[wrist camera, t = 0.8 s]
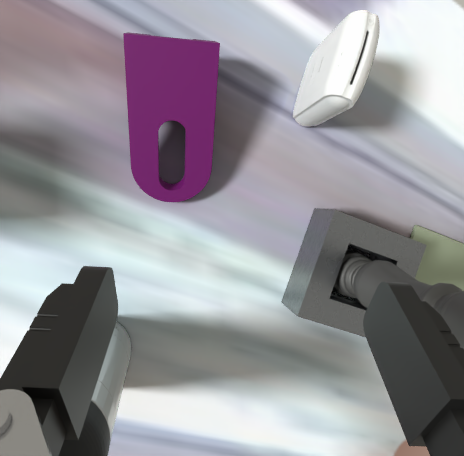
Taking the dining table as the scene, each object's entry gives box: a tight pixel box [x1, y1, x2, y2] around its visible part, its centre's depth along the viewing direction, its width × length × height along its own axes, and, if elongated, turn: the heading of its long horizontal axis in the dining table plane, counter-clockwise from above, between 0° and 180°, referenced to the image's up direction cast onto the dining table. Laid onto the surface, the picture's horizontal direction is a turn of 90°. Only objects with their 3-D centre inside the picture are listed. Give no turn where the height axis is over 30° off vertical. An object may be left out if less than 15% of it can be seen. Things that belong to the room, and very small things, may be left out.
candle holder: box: [333, 250, 464, 349], centre depth 37 cm, size 6×6×25 cm
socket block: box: [282, 209, 427, 337], centre depth 47 cm, size 14×14×6 cm
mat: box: [410, 225, 464, 291], centre depth 52 cm, size 12×12×1 cm
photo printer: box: [293, 10, 379, 127], centre depth 41 cm, size 10×4×12 cm, turn 162°
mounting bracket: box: [124, 33, 220, 202], centre depth 42 cm, size 10×8×18 cm
